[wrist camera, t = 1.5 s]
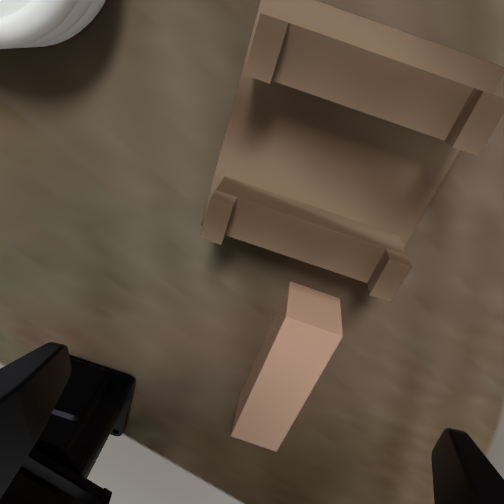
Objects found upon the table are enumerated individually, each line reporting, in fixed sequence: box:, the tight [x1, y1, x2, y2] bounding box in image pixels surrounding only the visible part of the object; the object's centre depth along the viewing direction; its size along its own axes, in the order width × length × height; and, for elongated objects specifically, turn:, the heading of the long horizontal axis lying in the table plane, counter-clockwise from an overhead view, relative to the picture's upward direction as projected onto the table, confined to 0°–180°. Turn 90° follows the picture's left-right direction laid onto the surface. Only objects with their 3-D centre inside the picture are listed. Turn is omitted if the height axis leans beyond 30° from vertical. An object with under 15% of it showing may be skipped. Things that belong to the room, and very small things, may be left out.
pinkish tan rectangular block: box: [231, 281, 343, 452], centre depth 24 cm, size 10×3×4 cm, turn 162°
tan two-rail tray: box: [200, 0, 504, 302], centre depth 18 cm, size 11×10×4 cm
